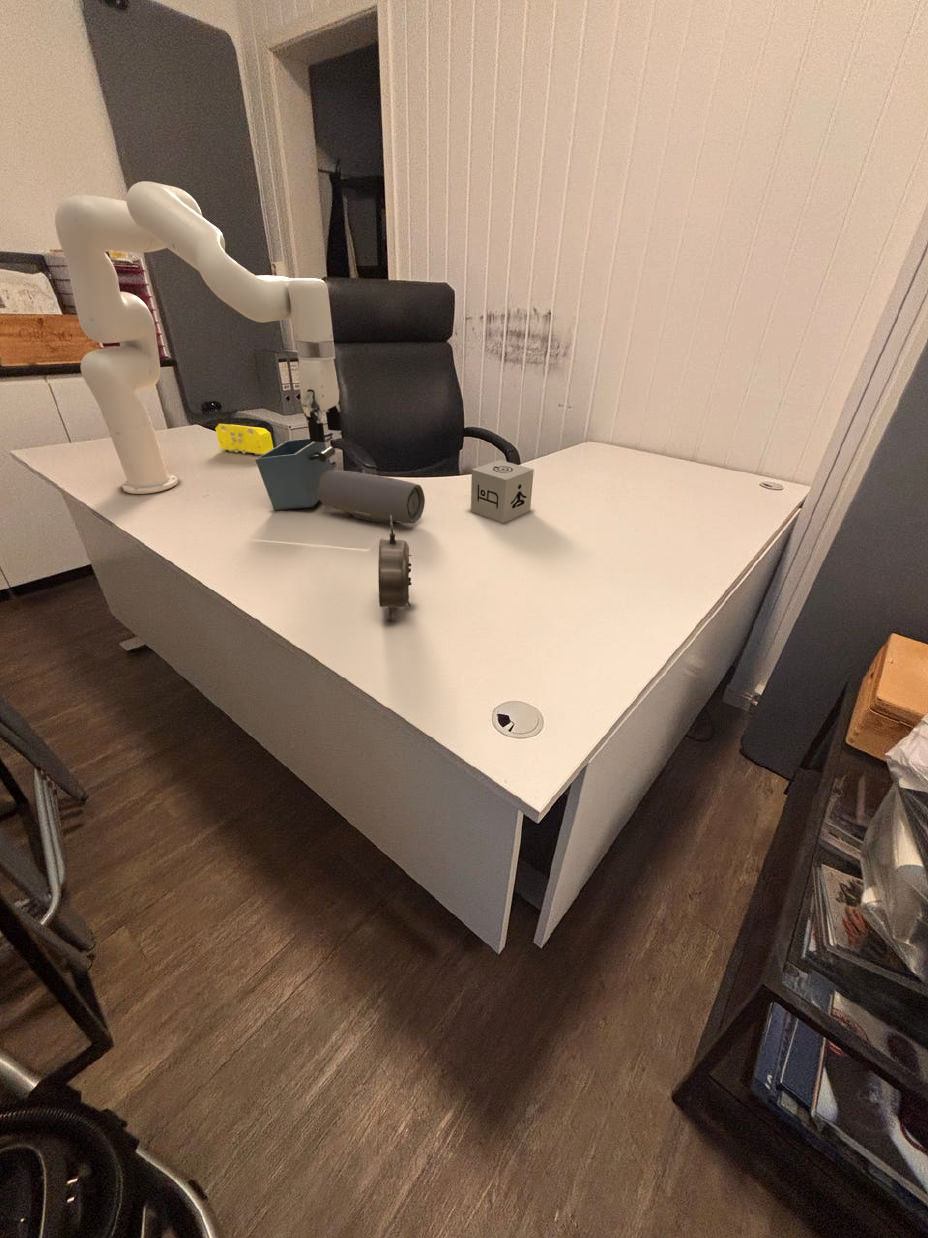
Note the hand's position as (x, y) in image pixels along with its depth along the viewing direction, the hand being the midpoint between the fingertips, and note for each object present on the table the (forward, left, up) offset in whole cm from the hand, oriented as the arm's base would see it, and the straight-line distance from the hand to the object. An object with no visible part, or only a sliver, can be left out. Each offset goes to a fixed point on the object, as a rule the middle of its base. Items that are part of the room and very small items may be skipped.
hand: (326, 435), depth 114 cm
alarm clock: (+43, -26, -16) cm, 53 cm away
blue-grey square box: (-12, -6, -10) cm, 17 cm away
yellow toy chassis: (-53, +13, -16) cm, 57 cm away
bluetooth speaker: (+14, -1, -16) cm, 21 cm away
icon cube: (+35, +20, -16) cm, 43 cm away
